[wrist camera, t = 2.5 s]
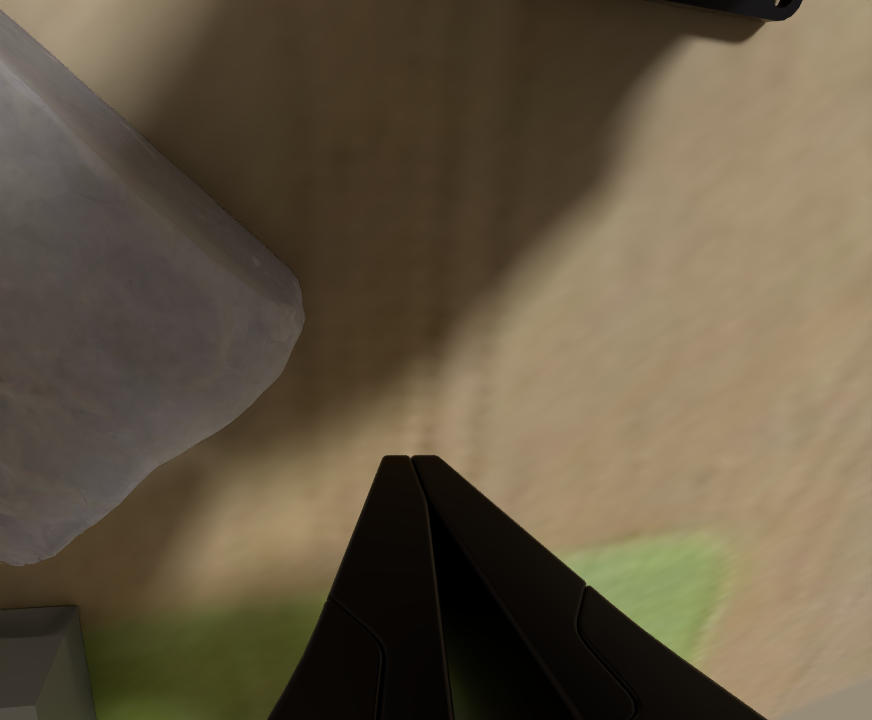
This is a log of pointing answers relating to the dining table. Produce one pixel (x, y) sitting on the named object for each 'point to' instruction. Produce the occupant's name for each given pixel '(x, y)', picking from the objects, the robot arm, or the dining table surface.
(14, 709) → the tray
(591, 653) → the robot arm
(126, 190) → the stone block
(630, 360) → the dining table surface
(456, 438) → the dining table surface
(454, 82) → the dining table surface
